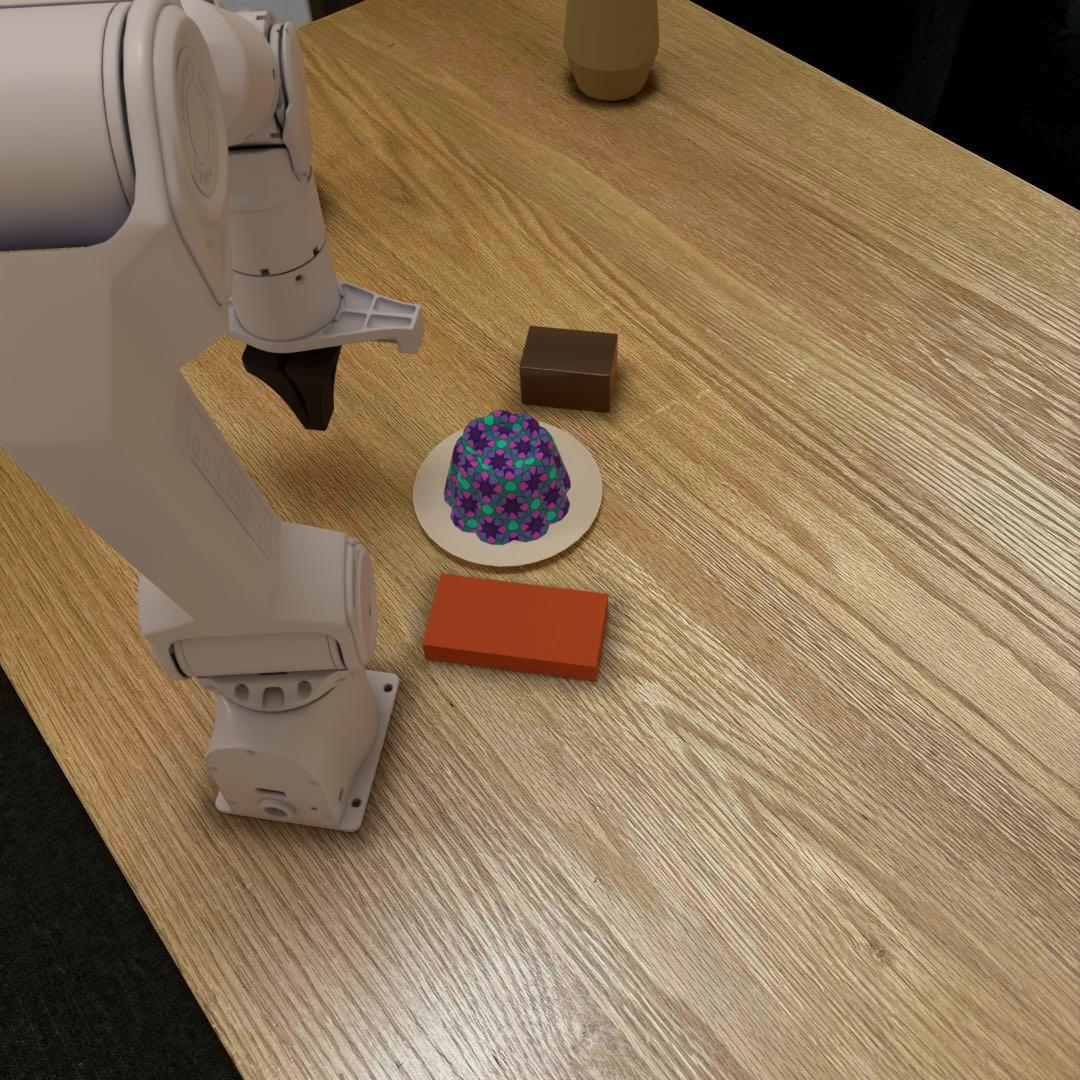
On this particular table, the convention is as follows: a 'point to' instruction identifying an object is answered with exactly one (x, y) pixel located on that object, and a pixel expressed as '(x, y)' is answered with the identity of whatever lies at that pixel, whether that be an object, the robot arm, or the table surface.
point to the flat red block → (516, 626)
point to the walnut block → (569, 368)
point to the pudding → (507, 490)
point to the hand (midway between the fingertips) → (319, 418)
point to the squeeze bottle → (611, 45)
